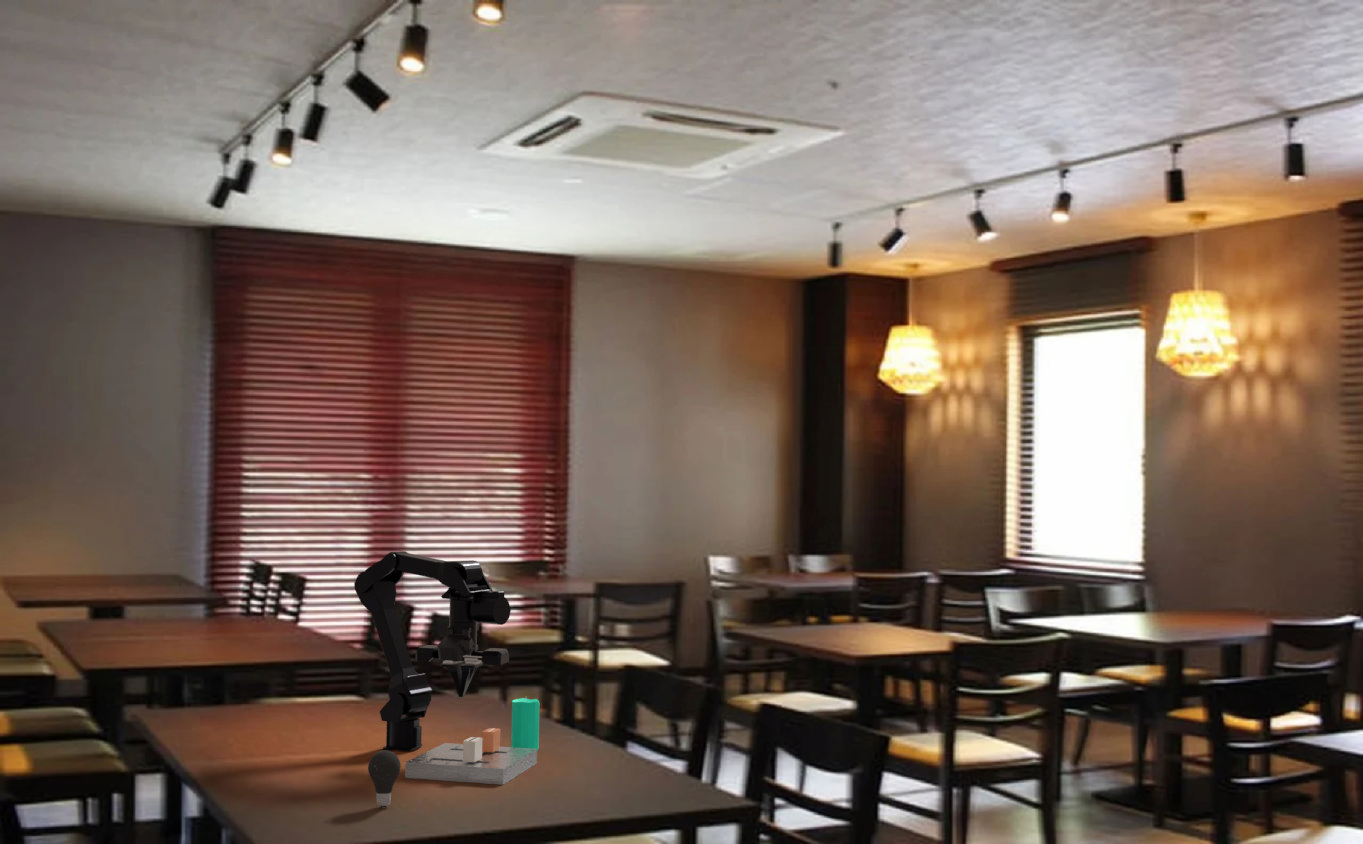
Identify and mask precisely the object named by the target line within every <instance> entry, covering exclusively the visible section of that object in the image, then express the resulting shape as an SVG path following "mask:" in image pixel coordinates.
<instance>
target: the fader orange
mask: <svg viewBox="0 0 1363 844" xmlns="http://www.w3.org/2000/svg"><path fill="white" fill-rule="evenodd" d="M481 738H482V752H491V753H494V752H495V751H497V750H498V749H500V747H501V728H496V727H491V728H490V727H489V728H487V729H485V730H482V732H481Z"/></svg>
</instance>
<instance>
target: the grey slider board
mask: <svg viewBox="0 0 1363 844" xmlns="http://www.w3.org/2000/svg"><path fill="white" fill-rule="evenodd" d="M537 763H538V751H537V749H532V748H516V747H511V746H500V749H498V750H497V751H495V752H494V753H491V752H482V759H480V760H478V761H476V762H475V763H473V762H463V743H451V742H444V743H442V744H440V745H438V746H436V747H433V748H432V749H430V750H428V751H426V752H423V753H421V754H419V755H417V756H415V757H413V758H411V759H409V760H407V761H405V763H404V764H405V766H404V767H405V768H404V770H405V772H404V774H405V775H404V778H405V779H415V780H432V781H443V782H458V783H459V782H461V783H473V784H474V783H475V784H486V785H489V784H490V785H499V786H500V785H505V784H507V783H509V782H510V781H512V780H513V779H514V778H516V777H517V776H519V775H521V774H522V773H524V772H526V771H527V770H529V769H531V768H532V767H534V766H535V765H537Z"/></svg>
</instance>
